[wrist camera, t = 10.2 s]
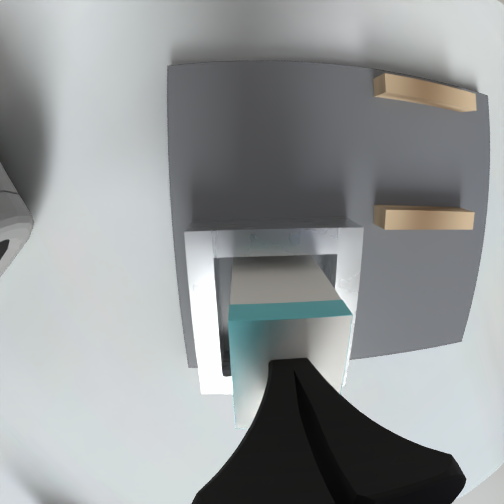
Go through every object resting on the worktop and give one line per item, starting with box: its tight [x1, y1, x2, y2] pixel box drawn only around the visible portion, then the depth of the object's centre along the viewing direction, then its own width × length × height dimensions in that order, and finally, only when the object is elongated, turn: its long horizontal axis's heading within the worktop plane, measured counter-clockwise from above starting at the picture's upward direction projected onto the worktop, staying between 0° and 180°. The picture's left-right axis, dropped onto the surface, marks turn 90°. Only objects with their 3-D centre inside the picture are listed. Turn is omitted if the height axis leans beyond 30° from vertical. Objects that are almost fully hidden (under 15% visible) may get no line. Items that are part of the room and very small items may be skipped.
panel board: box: [167, 61, 490, 368], centre depth 17 cm, size 19×17×1 cm
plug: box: [228, 255, 353, 429], centre depth 14 cm, size 4×5×7 cm
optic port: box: [184, 217, 364, 394], centre depth 16 cm, size 8×9×2 cm
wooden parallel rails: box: [373, 73, 477, 230], centre depth 15 cm, size 6×8×2 cm
